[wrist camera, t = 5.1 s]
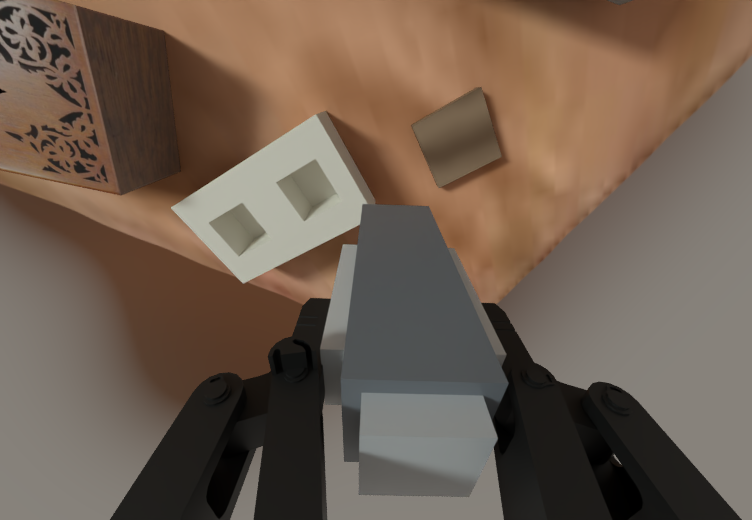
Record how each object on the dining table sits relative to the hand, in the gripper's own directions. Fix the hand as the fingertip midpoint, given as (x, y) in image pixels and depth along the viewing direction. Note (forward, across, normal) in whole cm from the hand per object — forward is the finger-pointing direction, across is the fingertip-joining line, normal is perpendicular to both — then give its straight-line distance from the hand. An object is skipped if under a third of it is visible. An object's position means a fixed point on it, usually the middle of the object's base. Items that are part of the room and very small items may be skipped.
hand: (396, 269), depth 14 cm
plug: (+4, 0, 0) cm, 4 cm away
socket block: (+24, -13, -5) cm, 28 cm away
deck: (+24, +8, +3) cm, 26 cm away
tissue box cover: (+25, -37, +8) cm, 46 cm away
